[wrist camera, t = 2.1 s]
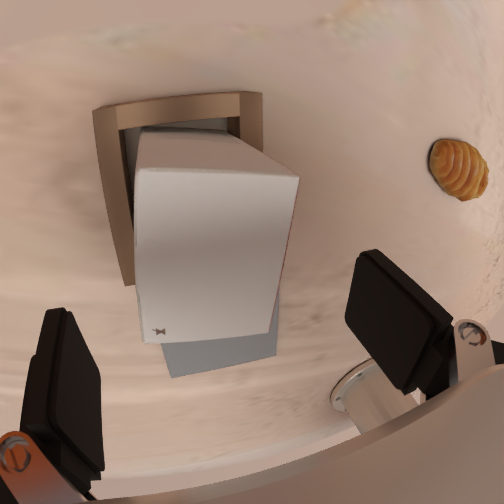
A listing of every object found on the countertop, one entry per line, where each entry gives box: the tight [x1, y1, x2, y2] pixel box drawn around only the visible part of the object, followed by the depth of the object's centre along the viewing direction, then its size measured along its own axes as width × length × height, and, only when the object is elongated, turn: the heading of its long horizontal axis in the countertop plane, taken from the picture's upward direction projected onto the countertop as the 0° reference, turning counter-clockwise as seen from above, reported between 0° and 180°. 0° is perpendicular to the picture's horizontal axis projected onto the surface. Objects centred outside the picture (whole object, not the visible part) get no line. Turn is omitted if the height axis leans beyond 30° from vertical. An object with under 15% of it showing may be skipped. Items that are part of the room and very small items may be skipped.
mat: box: [161, 284, 280, 378], centre depth 31 cm, size 12×12×1 cm
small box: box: [134, 127, 300, 344], centre depth 18 cm, size 8×6×13 cm
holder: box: [92, 91, 263, 286], centre depth 22 cm, size 11×13×4 cm
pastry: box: [429, 139, 489, 201], centre depth 30 cm, size 9×7×4 cm
